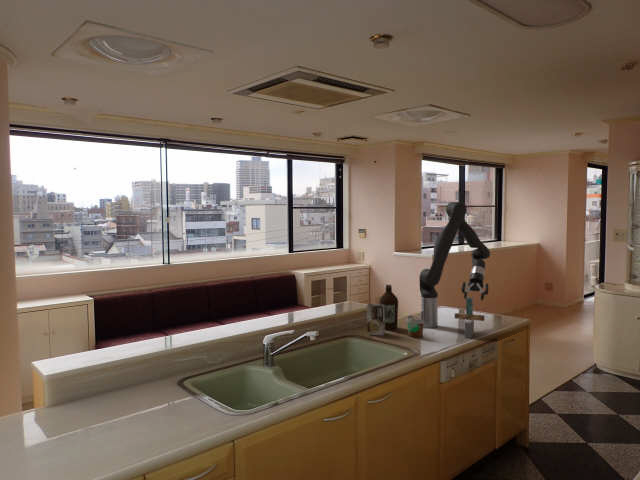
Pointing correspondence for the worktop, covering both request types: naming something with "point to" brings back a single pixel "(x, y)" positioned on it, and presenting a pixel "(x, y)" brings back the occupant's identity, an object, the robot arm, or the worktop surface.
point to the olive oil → (390, 308)
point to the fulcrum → (469, 328)
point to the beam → (469, 312)
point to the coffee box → (375, 319)
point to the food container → (415, 327)
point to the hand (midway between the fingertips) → (473, 299)
